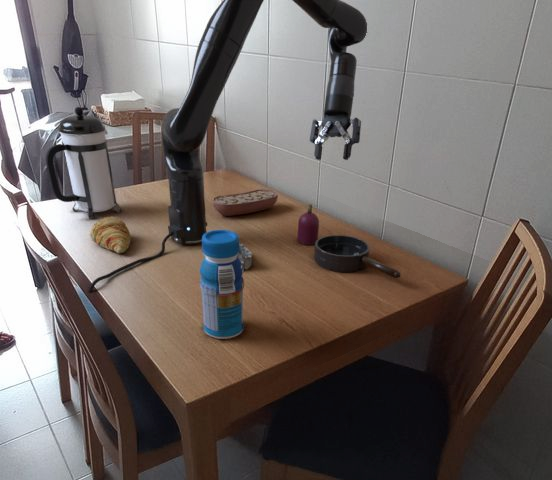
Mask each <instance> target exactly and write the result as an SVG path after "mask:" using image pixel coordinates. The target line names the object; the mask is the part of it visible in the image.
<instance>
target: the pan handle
mask: <svg viewBox="0 0 552 480" xmlns="http://www.w3.org/2000/svg"><path fill="white" fill-rule="evenodd" d="M361 261H362V263H363V264H365V265H366V266H368V267H370V268H372V269H375V270H377V271H379V272H381V273H383V274H385V275H388V276H390V277H392V278H394V279H399V278H400V277H401V271H399V270H398V269H395V268H393V267H392V266H391V267H390V266H388V265H386V264H384V263H381V262H379V261H377V260H375V259H372V258H370V257H369V258H368V257H363V258H362V259H361Z"/></svg>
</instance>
